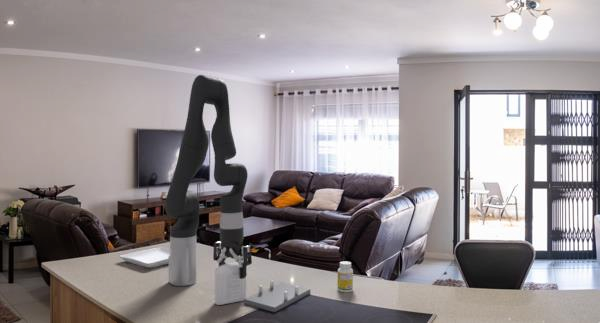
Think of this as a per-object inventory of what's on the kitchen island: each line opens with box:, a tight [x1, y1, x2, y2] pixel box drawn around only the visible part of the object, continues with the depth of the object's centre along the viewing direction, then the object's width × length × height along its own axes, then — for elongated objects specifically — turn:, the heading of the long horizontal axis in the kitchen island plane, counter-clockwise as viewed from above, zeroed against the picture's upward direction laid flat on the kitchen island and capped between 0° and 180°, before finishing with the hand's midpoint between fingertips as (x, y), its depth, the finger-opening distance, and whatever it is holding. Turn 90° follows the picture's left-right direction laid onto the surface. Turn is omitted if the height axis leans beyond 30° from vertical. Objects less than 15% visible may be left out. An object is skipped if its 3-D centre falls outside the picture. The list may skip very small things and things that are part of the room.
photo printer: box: [214, 262, 247, 306], centre depth 138 cm, size 10×4×12 cm, turn 123°
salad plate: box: [119, 246, 170, 269], centre depth 184 cm, size 21×21×3 cm
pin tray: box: [243, 280, 311, 313], centre depth 141 cm, size 12×20×4 cm, turn 146°
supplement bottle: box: [337, 260, 354, 293], centre depth 149 cm, size 5×5×10 cm
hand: (232, 276), depth 138 cm, fingers open, 8 cm apart
